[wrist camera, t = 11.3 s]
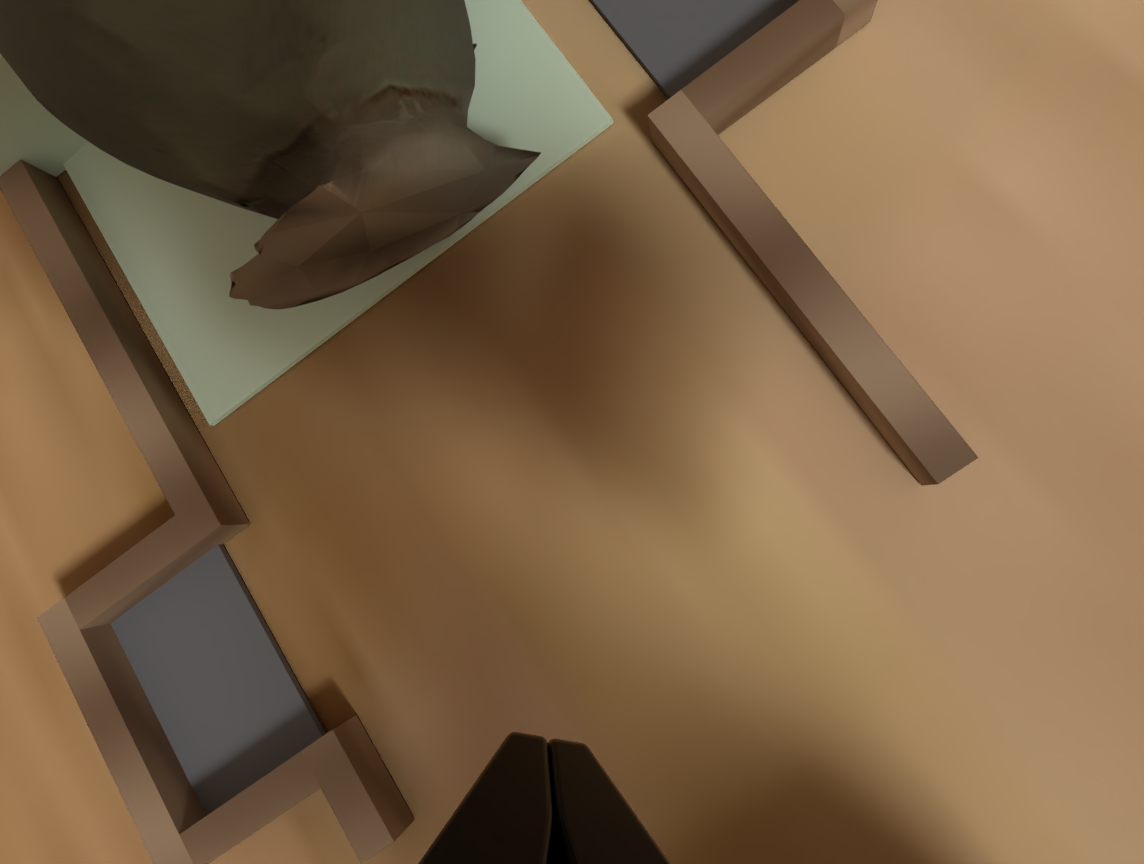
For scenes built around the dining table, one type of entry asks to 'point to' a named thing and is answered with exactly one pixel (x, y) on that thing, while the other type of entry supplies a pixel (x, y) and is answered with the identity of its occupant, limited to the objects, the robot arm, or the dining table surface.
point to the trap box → (213, 515)
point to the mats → (212, 583)
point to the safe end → (228, 233)
